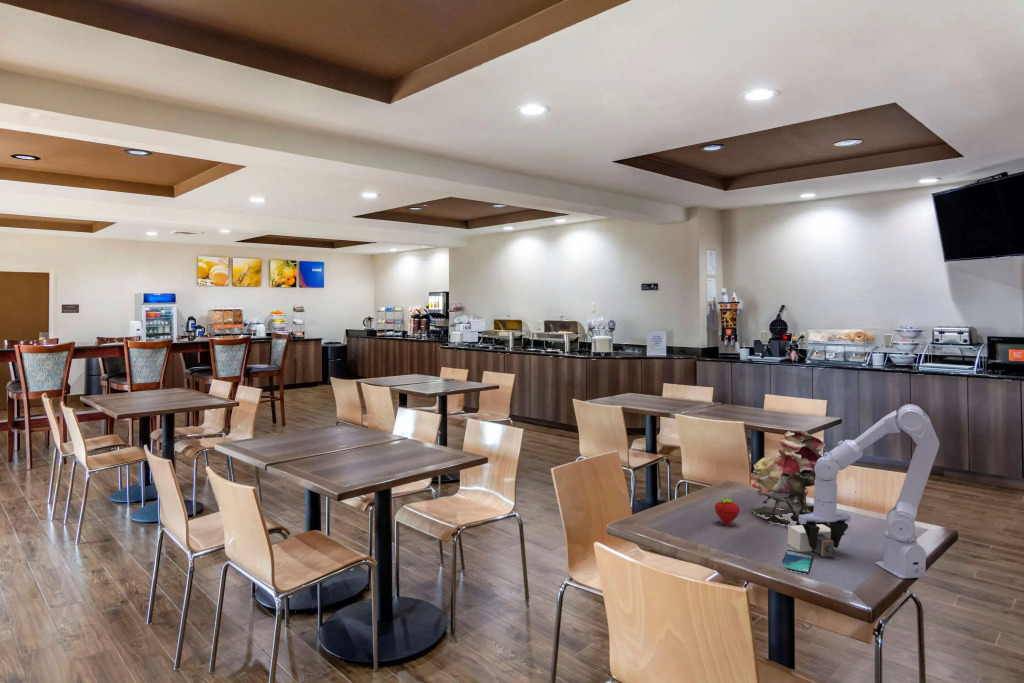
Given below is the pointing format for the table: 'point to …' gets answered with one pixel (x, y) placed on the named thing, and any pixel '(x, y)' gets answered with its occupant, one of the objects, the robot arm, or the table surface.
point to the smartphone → (798, 561)
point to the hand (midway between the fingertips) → (823, 547)
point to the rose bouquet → (788, 476)
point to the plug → (824, 546)
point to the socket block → (804, 536)
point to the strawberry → (727, 510)
